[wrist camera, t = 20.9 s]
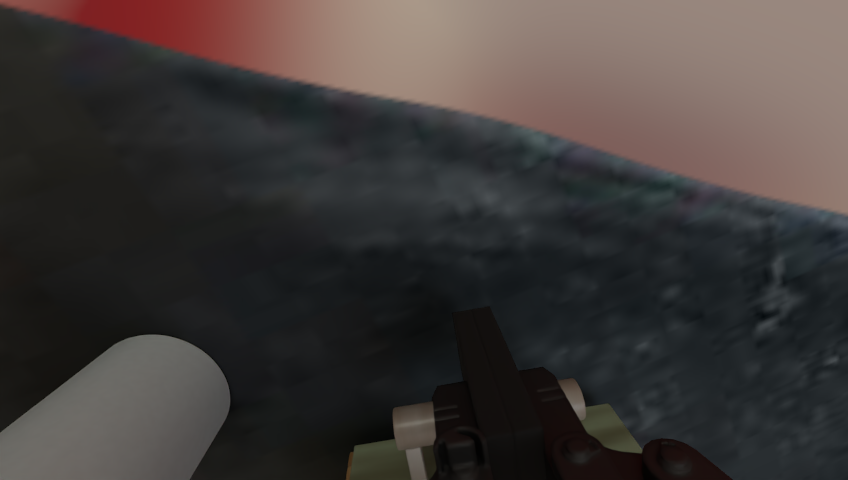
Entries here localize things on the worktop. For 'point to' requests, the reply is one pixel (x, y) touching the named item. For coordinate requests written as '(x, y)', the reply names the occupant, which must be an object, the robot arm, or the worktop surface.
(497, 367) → the robot arm
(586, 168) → the worktop surface
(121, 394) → the container
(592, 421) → the drawer
